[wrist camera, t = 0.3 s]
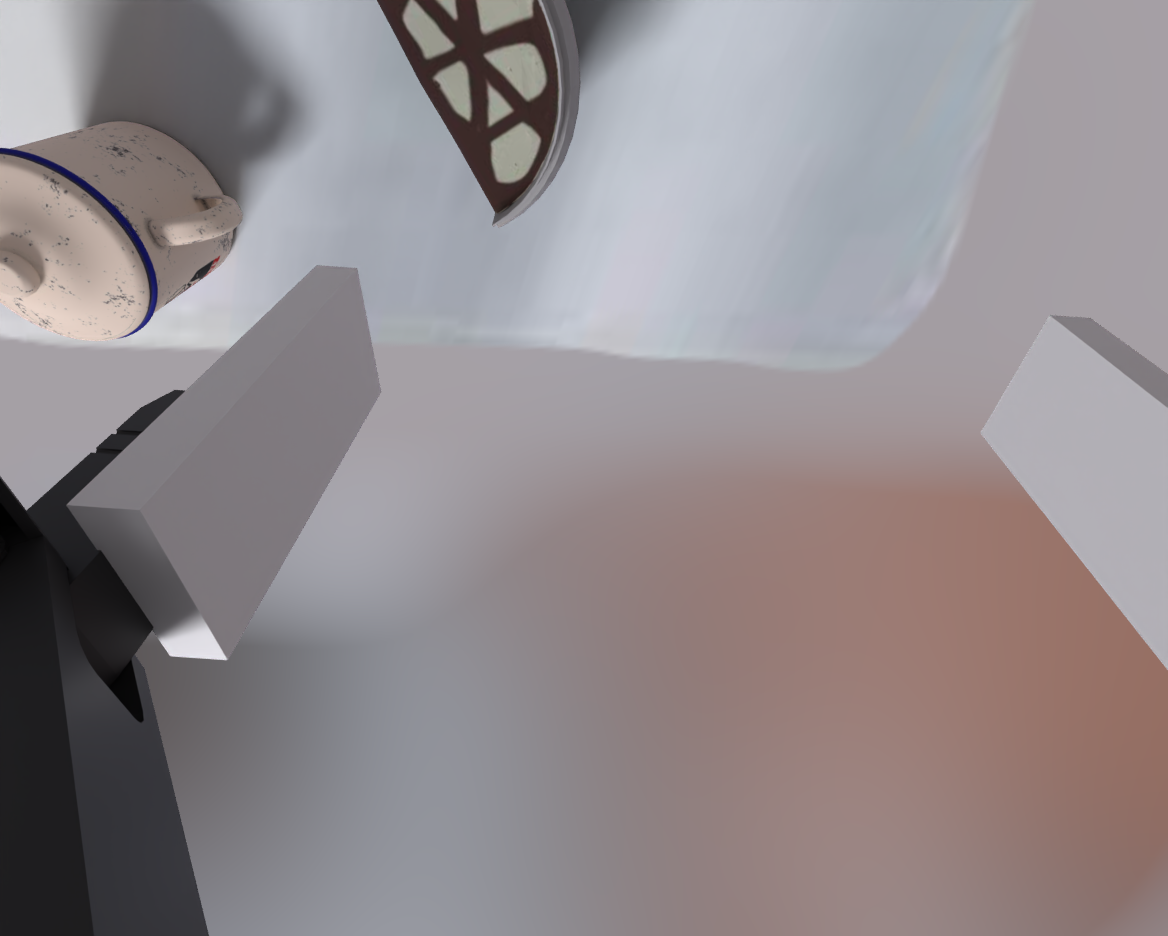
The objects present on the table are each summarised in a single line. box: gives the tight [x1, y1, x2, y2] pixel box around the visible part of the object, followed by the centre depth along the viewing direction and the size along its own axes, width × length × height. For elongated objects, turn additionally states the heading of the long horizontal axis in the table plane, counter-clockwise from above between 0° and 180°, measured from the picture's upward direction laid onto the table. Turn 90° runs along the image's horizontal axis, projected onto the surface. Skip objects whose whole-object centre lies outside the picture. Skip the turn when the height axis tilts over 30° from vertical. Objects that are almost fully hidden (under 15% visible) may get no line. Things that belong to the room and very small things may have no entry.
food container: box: [377, 0, 580, 228], centre depth 25 cm, size 12×6×10 cm, turn 26°
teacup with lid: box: [0, 121, 242, 341], centre depth 31 cm, size 12×9×12 cm
